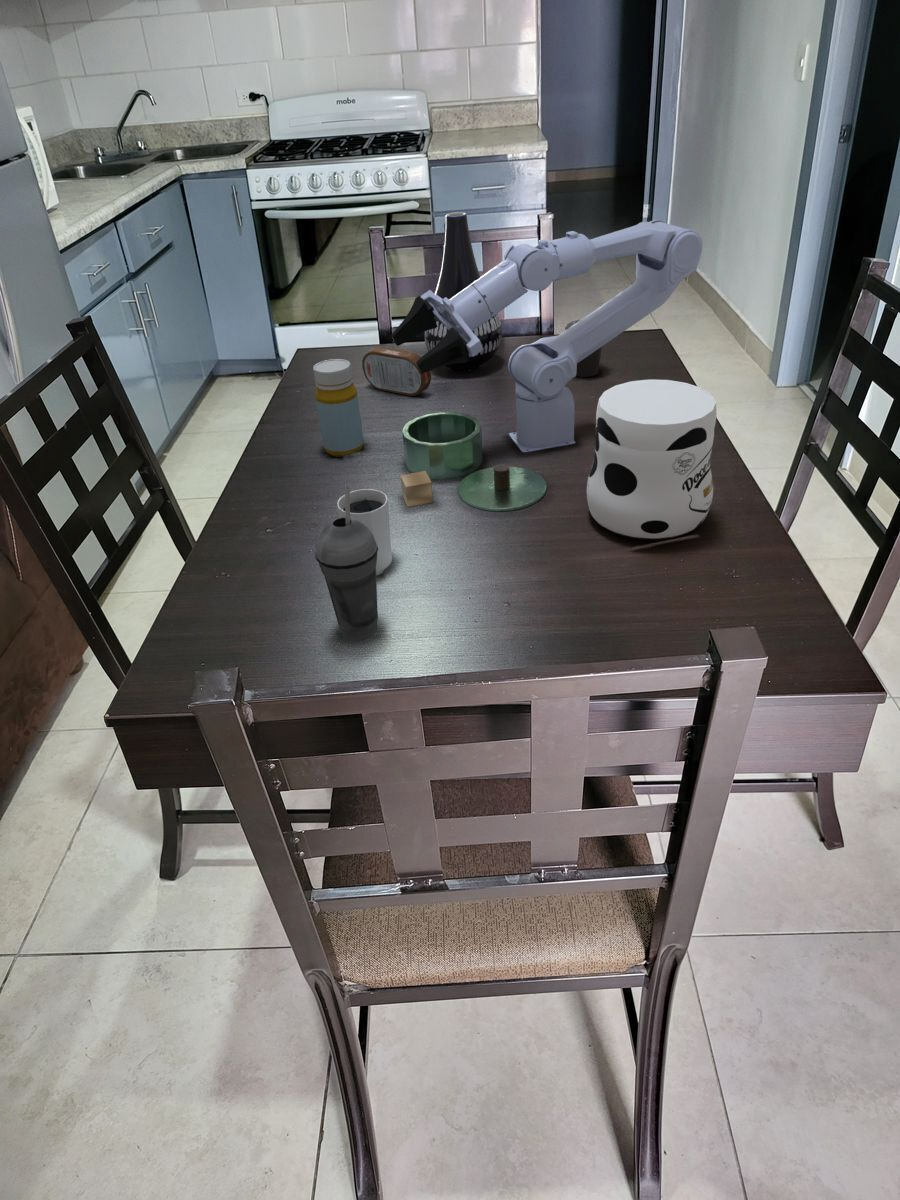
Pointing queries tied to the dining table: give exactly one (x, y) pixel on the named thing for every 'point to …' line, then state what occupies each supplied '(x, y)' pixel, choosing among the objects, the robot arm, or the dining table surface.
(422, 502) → the block
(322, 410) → the bottle
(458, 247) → the vase
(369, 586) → the beverage cup
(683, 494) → the milk container
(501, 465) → the lid
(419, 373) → the tin
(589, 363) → the coffee cup
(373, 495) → the white cylindrical cup
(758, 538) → the dining table surface
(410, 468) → the jar
